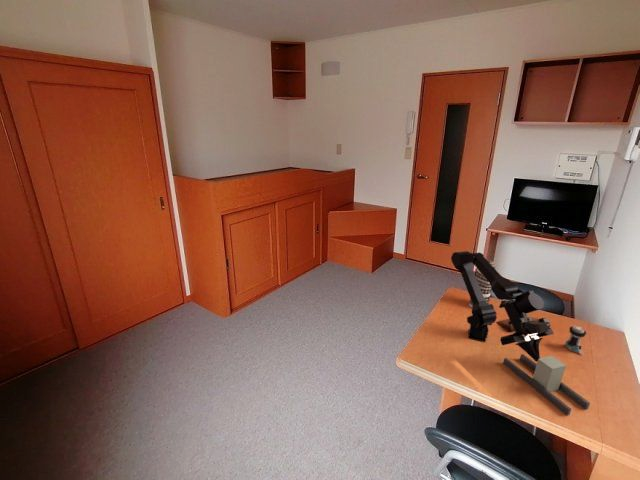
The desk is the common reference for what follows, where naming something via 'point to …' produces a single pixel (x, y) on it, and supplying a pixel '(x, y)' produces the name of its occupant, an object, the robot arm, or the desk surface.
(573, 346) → the push button
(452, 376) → the desk surface
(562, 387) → the steel chute
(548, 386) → the block
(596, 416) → the desk surface
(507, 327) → the sunglasses case
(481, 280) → the decorative candle
